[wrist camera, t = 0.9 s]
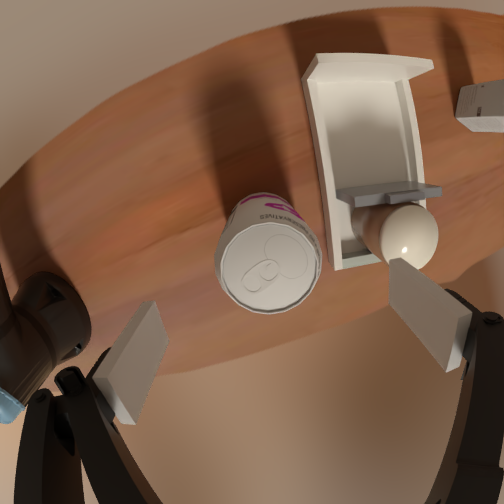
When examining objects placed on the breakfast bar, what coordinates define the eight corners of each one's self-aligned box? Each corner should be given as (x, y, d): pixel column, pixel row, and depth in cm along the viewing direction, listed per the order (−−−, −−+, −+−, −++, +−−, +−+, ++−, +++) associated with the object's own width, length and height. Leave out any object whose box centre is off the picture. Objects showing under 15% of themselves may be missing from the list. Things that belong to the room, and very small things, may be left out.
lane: (328, 262, 36) (350, 291, 27) (300, 79, 29) (316, 53, 21) (415, 245, 35) (451, 268, 27) (395, 77, 28) (431, 59, 20)
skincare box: (459, 85, 28) (514, 73, 16) (478, 101, 28) (532, 95, 17) (453, 119, 30) (511, 114, 18) (473, 134, 30) (530, 135, 19)
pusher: (335, 198, 32) (359, 209, 24) (334, 189, 32) (358, 198, 24) (410, 188, 31) (448, 197, 24) (410, 180, 31) (448, 188, 23)
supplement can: (266, 177, 33) (277, 188, 19) (310, 230, 35) (347, 276, 20) (214, 221, 35) (188, 264, 20) (259, 270, 36) (262, 339, 22)
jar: (353, 252, 34) (381, 280, 26) (348, 195, 32) (379, 208, 24) (401, 243, 34) (438, 267, 25) (398, 189, 32) (439, 200, 23)
